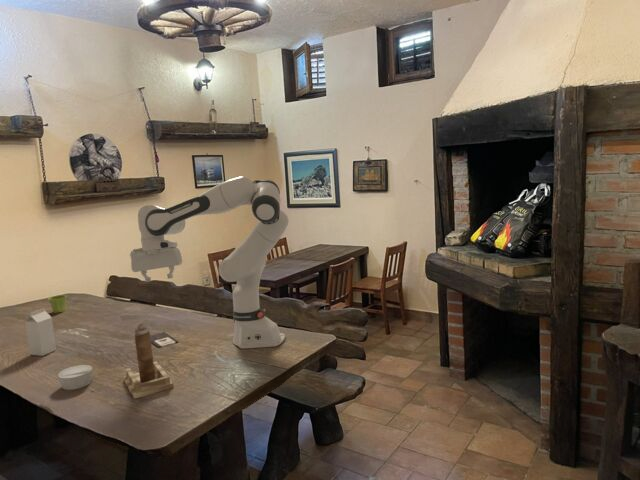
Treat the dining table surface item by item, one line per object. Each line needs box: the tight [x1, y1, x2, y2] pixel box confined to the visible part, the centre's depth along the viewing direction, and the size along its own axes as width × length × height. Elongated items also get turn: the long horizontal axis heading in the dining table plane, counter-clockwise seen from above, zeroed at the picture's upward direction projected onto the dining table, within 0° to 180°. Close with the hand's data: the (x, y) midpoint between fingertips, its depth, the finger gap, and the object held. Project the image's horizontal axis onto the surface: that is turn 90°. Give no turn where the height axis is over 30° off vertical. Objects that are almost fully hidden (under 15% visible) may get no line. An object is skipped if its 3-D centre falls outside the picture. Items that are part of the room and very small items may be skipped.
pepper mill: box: [134, 323, 155, 383], centre depth 164 cm, size 5×5×20 cm
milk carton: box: [24, 307, 57, 357], centre depth 203 cm, size 7×7×19 cm
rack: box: [123, 361, 175, 399], centre depth 165 cm, size 18×13×4 cm
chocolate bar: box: [150, 331, 179, 349], centre depth 211 cm, size 9×1×18 cm
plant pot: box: [47, 294, 68, 314], centre depth 271 cm, size 9×9×9 cm
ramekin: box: [57, 364, 93, 391], centre depth 168 cm, size 11×11×5 cm
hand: (159, 279), depth 187 cm, fingers open, 8 cm apart
